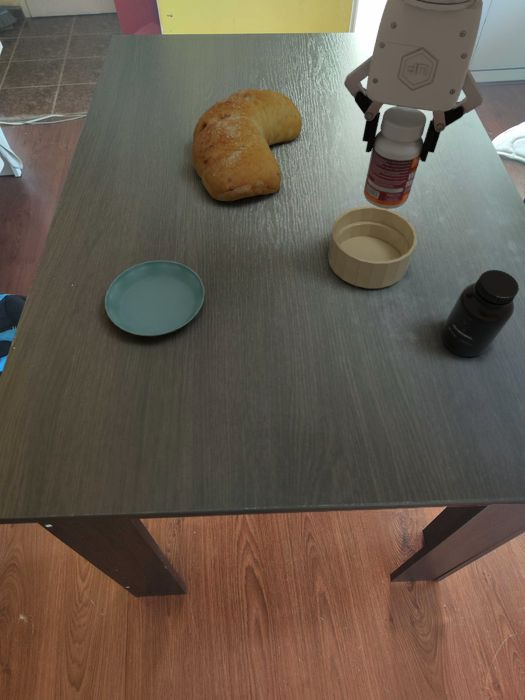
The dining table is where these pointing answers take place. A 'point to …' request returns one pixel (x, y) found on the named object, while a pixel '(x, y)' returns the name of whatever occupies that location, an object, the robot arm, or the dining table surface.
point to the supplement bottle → (480, 313)
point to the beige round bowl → (371, 246)
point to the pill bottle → (395, 157)
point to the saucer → (154, 298)
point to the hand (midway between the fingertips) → (396, 149)
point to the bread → (243, 143)
